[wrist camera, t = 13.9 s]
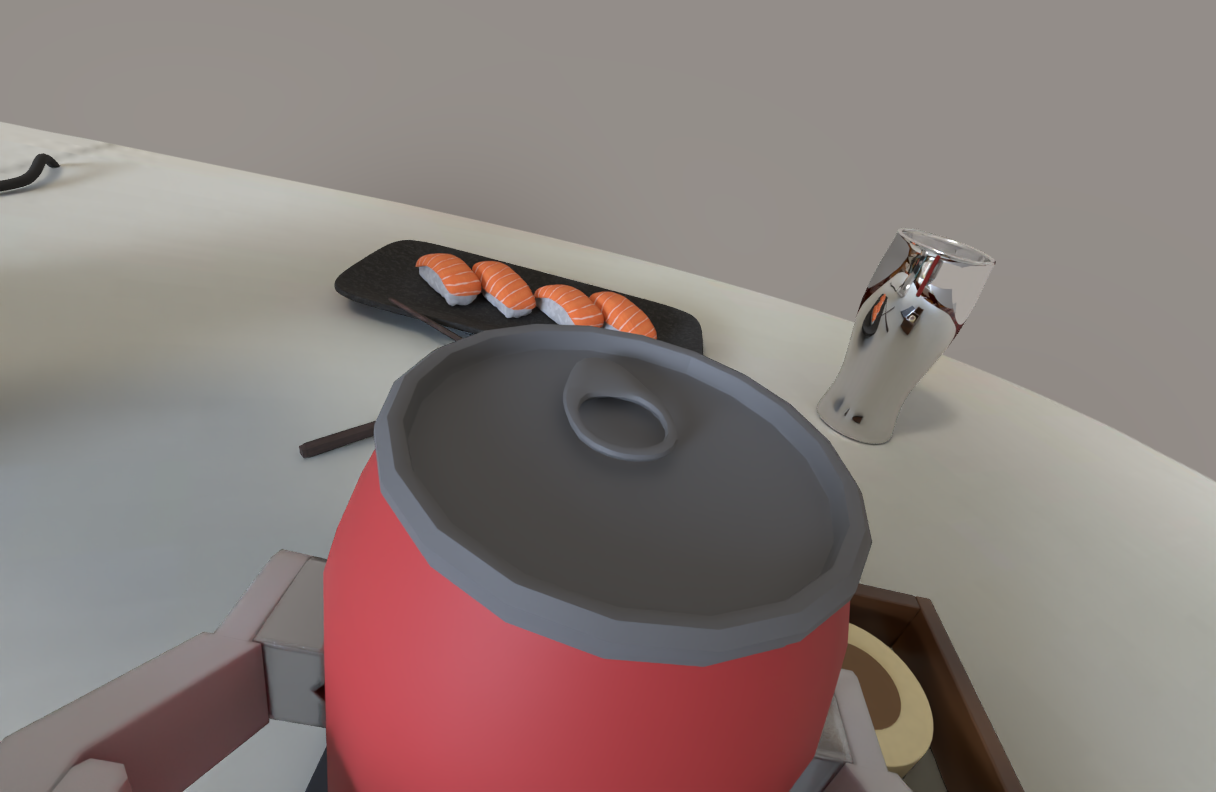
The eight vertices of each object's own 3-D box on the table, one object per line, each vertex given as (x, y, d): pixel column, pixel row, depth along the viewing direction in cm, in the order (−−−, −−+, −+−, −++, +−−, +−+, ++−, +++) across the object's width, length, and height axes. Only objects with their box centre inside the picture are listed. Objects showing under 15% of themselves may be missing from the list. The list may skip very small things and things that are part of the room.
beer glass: (858, 454, 45) (963, 263, 37) (793, 402, 50) (875, 223, 42) (913, 442, 48) (1019, 266, 41) (847, 394, 53) (932, 229, 46)
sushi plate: (696, 332, 57) (708, 295, 55) (696, 562, 31) (719, 508, 30) (400, 253, 57) (402, 214, 55) (155, 420, 31) (143, 356, 29)
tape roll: (723, 680, 26) (744, 642, 25) (819, 633, 29) (842, 597, 28) (835, 835, 22) (868, 798, 20) (933, 758, 25) (966, 722, 24)
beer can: (610, 718, 17) (763, 329, 11) (688, 1062, 11) (1086, 673, 5) (352, 743, 15) (358, 281, 9) (299, 1175, 9) (215, 760, 3)
